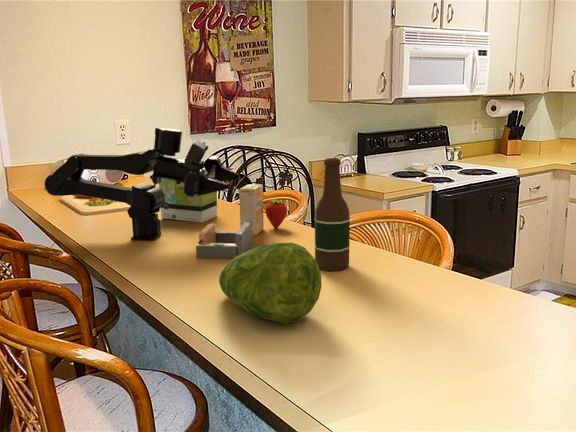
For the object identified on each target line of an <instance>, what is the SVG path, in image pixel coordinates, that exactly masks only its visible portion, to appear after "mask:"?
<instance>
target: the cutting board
mask: <svg viewBox="0 0 576 432" xmlns="http://www.w3.org/2000/svg"><path fill="white" fill-rule="evenodd" d="M59 201H60V202H62V203H63V204H64V205H66V206H67V207H69V208H71V209H73V210H74V211H75V212H77V213H79V214H80V215H81V216H93V215H100V214H101V215H103V214H107V213H108V214H109V213H117V212H122V211H123V212H124V211H127V210H128V209H129V208H130V207H131V206H129V205H128V204H126V203H123V202H117V201H111V200H106V199H100V198H95V197H89V196H84V195H66V196H59Z"/></svg>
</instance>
